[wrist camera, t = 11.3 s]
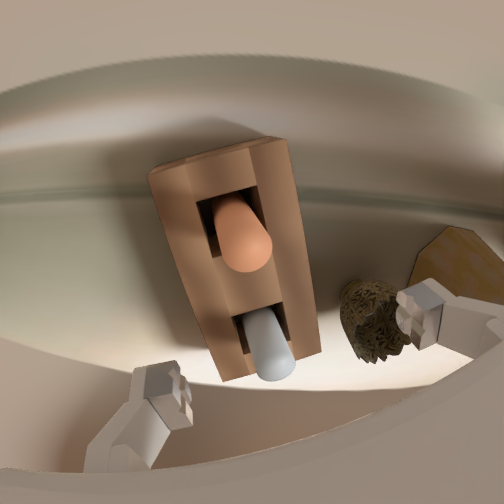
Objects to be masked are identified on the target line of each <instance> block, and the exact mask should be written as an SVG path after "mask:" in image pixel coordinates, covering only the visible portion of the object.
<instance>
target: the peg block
mask: <svg viewBox="0 0 504 504" xmlns="http://www.w3.org/2000/svg"><path fill="white" fill-rule="evenodd" d="M147 179H148V182H149V185H150V189H151V192H152V195H153V198H154V201H155V204H156V207H157V211H158V214H159V217H160V220H161V223H162V226H163V229H164V232H165V235H166V238H167V240H168V243H169V246H170V249H171V252H172V255H173V258H174V260H175V263H176V266H177V269H178V271H179V274H180V277H181V280H182V282H183V285H184V288H185V290H186V293H187V296H188V298H189V301H190V304H191V306H192V309H193V311H194V314H195V316H196V319H197V321H198V324H199V326H200V329H201V331H202V334H203V336H204V339H205V341H206V344H207V346H208V348H209V351H210V353H211V356H212V358H213V360H214V363H215V365H216V367H217V370H218V372H219V374H220V377H221V379H222V381H223V382H225V381H229V380H233V379H236V378H240V377H244V376H247V375H251V374H254V373H257V372H256V368H255V365H254V361H253V358H252V355H251V351H250V348H249V344H248V341H247V337H246V334H245V330H244V326H243V323H242V322H241V323H237V324H236V323H235V320H234V317H233V316H235V315H238V314H242V313H245V312H248V311H252V310H255V309H259V308H262V307H265V306H269V305H272V304H275V303H276V308H277V312H274V314H275V316H276V319H277V321H278V323H279V325H280V328H281V330H282V332H283V334H284V337H285V339H286V341H287V343H288V346H289V348H290V350H291V352H292V354H293V357H294V359H295V361H296V360H299V359H302V358H305V357H308V356H311V355H314V354H317V353H320V352H322V351H321V343H320V335H319V328H318V320H317V313H316V306H315V299H314V292H313V286H312V279H311V273H310V266H309V260H308V254H307V248H306V242H305V236H304V230H303V224H302V219H301V213H300V208H299V202H298V197H297V191H296V186H295V181H294V176H293V171H292V166H291V161H290V156H289V151H288V146H287V141H286V139H282V138H277V137H271V136H269V137H264V138H260V139H255V140H251V141H247V142H243V143H239V144H235V145H231V146H227V147H223V148H219V149H215V150H211V151H208V152H204V153H200V154H197V155H193V156H190V157H186V158H183V159H180V160H176V161H173V162H170V163H166V164H163V165H160V166H157V167H154V169H153V170H152V171H151V172H150V173H149V174H148V176H147ZM248 187H249V191H250V195H251V200H252V204H253V208H254V212H255V216H256V217H257V218H258V220H259V221H260V223H261V224H262V226H263V227H264V229H265V230H266V231H267V233H268V234H269V236H270V238H271V241H272V253H271V256H270V258H269V260H268V261H267V263H266V264H265V265H264V266H262V267H261V268H259V269H258V270H255V271H252V272H238V271H235V270H233V269H232V268H230V267H229V266H228V265H227V264H226V263H225V261H224V259H223V257H222V253H221V249H220V244H219V240H218V236H217V234H214V235H210V236H208V233H207V230H206V226H205V223H204V220H203V216H202V213H201V209H200V206H199V202H198V201H200V200H204V199H207V198H211V197H214V196H218V195H222V194H225V193H229V192H233V191H236V190H240V189H244V188H248Z"/></svg>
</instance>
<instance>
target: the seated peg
mask: <svg viewBox="0 0 504 504" xmlns="http://www.w3.org/2000/svg"><path fill="white" fill-rule="evenodd" d="M240 316H241V319H242V323H243V326H244V330H245V334H246V337H247V341H248V344H249V348H250V351H251V355H252V358H253V361H254V365H255V368H256V372H257V375H258V376H259V377H260V378H261V379H263V380H265V381H278V380H281V379H284V378H286V377H287V376H289V375H290V374H291V373H292V371H293V370H294V368H295V364H296V363H295V359H294V357H293V354H292V352H291V350H290V348H289V346H288V343H287V341H286V339H285V337H284V334H283V332H282V330H281V328H280V325H279V323H278V321H277V319H276V316H275V314H274V312H273V310H272V307H271V305H269V306H265V307H262V308H259V309H255V310H252V311H248V312H245V313H242V314H240Z"/></svg>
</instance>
